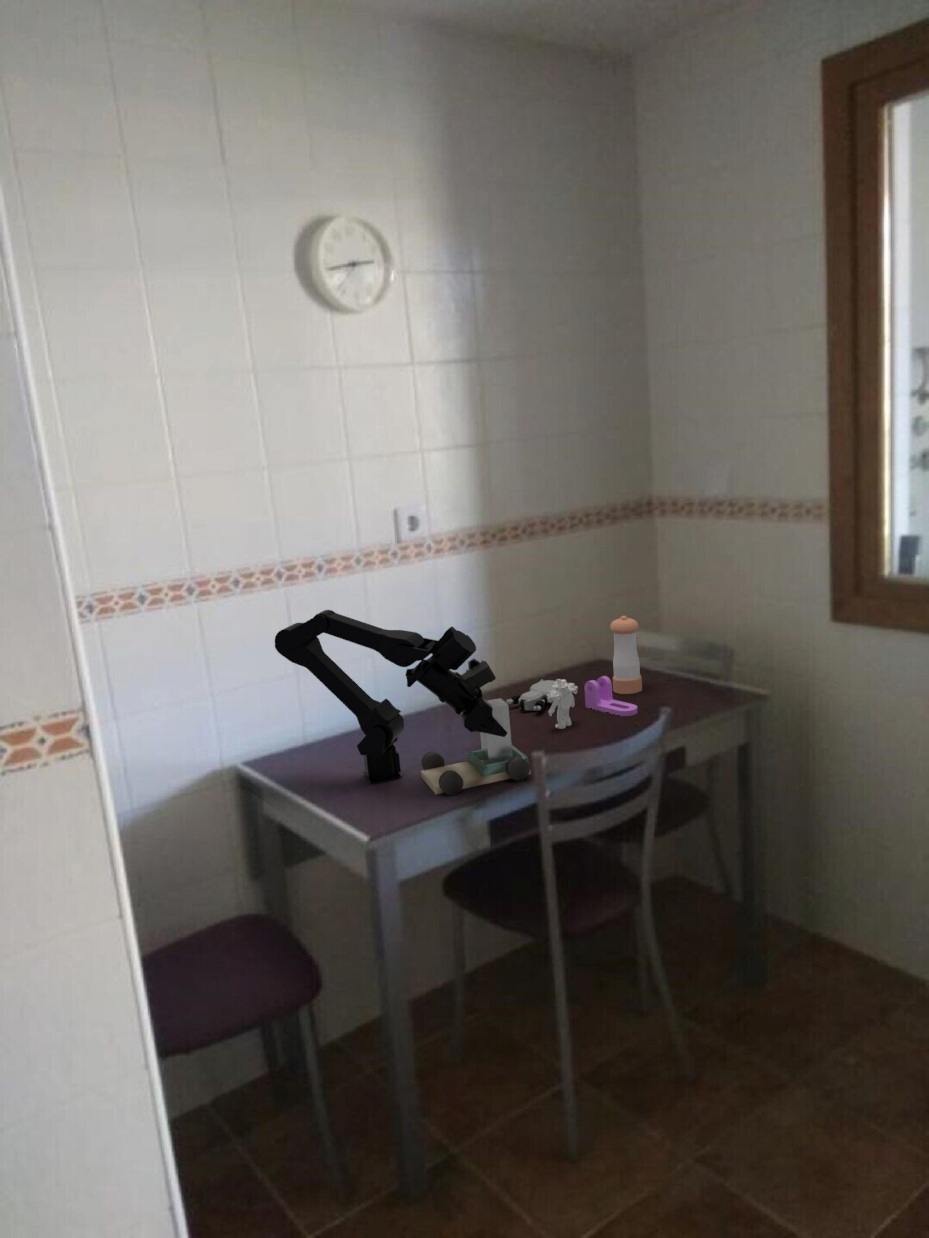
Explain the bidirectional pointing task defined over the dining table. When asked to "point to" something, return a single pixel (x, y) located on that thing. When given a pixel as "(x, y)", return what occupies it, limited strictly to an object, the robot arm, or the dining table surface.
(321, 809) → the dining table surface
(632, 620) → the pepper shaker
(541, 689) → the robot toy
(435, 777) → the toy car chassis
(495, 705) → the tall gray rectangular block
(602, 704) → the bracket
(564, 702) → the flower shoulder figurine
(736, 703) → the dining table surface
